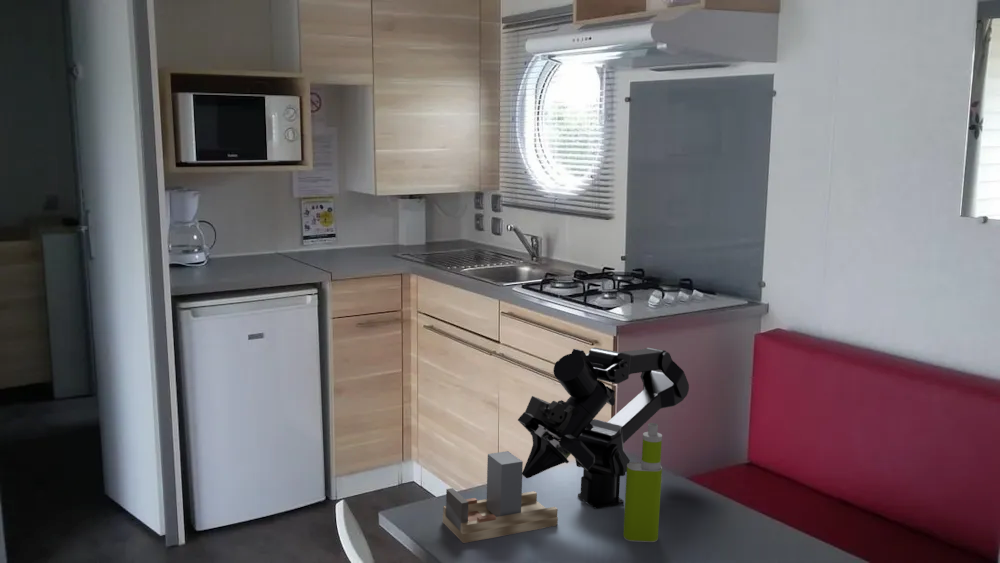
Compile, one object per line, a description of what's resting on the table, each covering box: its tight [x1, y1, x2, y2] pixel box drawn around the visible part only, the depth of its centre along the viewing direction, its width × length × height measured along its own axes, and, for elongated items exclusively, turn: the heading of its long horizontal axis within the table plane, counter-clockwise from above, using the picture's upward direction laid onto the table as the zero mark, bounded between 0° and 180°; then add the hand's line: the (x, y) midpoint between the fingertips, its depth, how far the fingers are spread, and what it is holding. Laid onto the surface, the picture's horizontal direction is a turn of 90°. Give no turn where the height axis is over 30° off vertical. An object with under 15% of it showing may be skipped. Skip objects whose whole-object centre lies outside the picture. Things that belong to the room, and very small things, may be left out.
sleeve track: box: [442, 487, 559, 544], centre depth 153 cm, size 18×9×6 cm, turn 116°
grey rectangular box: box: [486, 450, 524, 517], centre depth 153 cm, size 4×6×10 cm
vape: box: [623, 422, 663, 543], centre depth 149 cm, size 4×6×20 cm, turn 88°
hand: (524, 476), depth 154 cm, fingers closed
